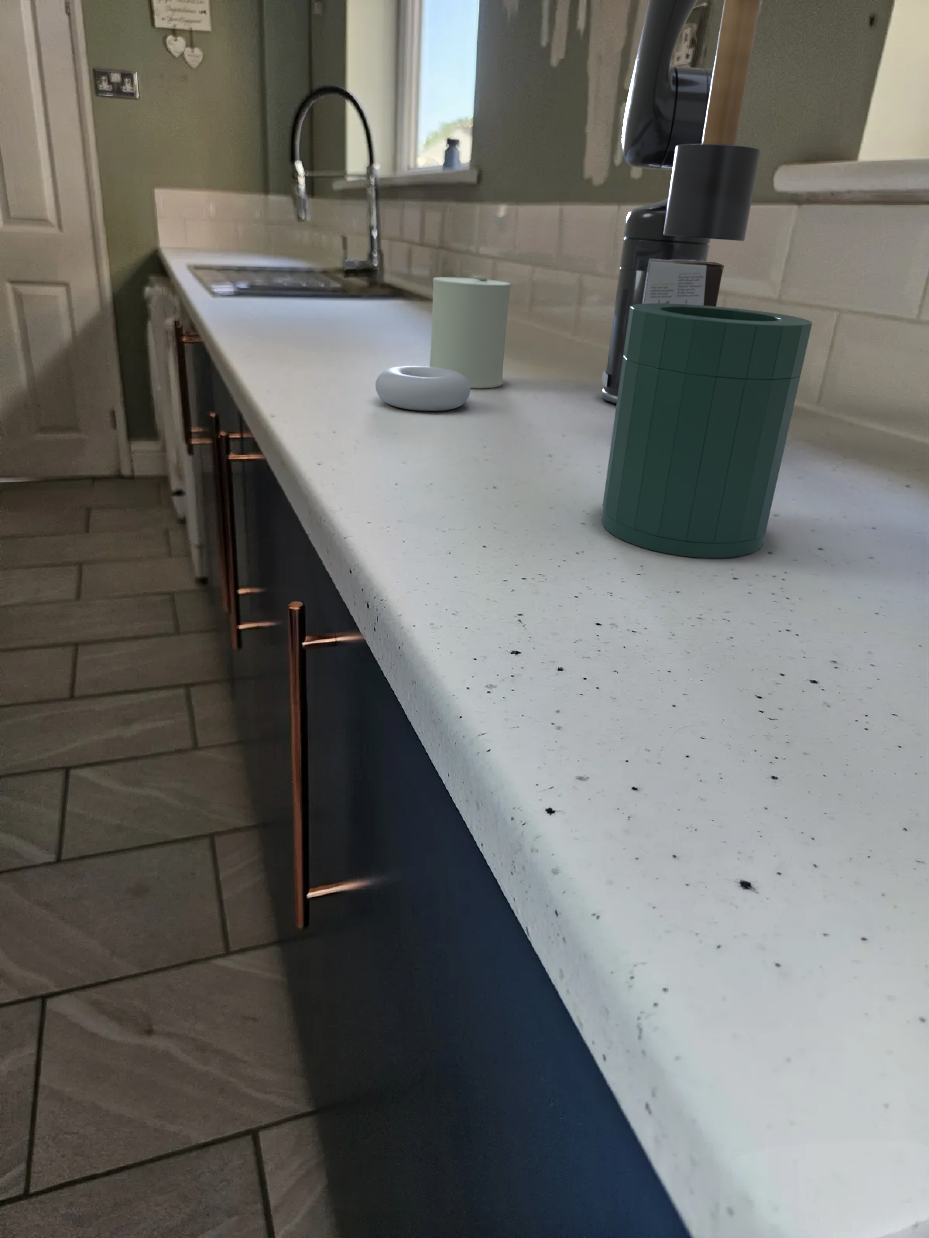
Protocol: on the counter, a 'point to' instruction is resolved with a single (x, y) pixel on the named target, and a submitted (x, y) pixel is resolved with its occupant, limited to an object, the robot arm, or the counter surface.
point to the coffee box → (682, 282)
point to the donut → (422, 388)
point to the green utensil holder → (701, 427)
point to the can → (470, 328)
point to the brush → (719, 143)
